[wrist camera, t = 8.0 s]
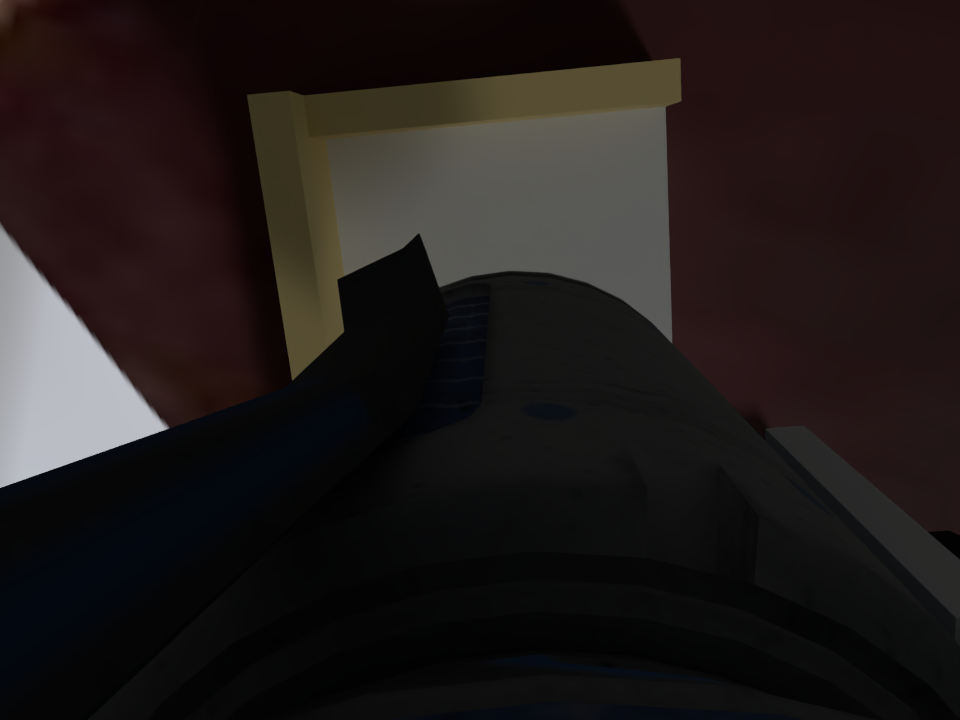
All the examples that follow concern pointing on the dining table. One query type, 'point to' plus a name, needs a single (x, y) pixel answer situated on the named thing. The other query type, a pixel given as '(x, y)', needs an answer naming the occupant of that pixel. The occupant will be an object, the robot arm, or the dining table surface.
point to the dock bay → (469, 185)
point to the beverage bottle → (458, 540)
